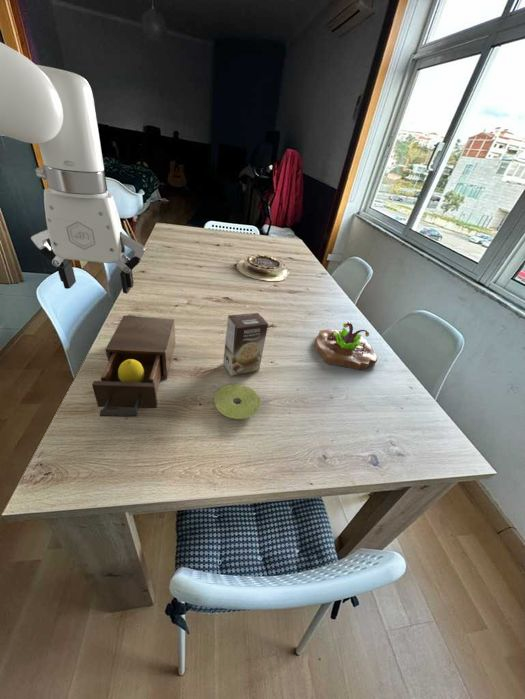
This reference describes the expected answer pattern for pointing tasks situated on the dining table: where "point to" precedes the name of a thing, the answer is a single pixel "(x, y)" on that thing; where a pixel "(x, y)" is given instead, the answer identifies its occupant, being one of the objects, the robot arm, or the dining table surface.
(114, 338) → the cabinet
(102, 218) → the robot arm
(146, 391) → the drawer
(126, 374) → the lemon
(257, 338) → the coffee box
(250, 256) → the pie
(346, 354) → the plant
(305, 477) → the dining table surface
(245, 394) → the green disc
